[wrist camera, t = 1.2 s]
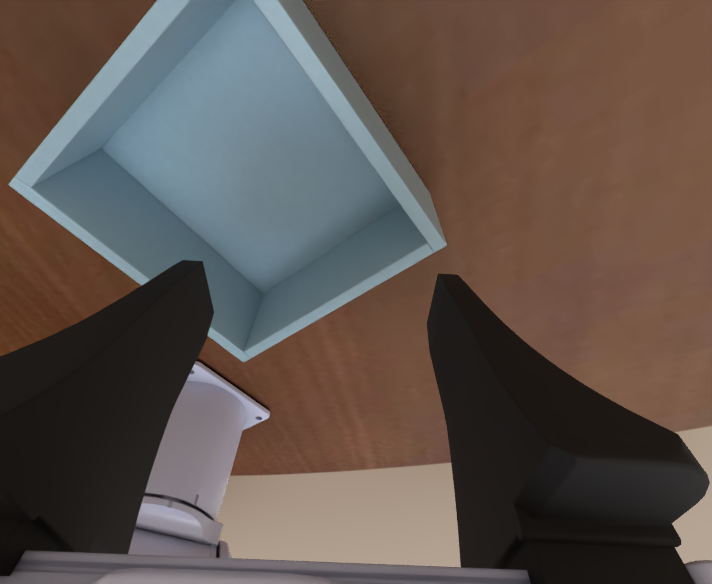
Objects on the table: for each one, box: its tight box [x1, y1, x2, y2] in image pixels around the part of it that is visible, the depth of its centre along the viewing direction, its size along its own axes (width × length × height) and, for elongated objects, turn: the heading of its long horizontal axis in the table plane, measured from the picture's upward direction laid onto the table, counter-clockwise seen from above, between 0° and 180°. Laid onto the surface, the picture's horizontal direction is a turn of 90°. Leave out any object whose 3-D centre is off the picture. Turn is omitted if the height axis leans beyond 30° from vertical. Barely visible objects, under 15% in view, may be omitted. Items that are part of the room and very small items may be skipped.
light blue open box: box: [9, 0, 447, 362], centre depth 17 cm, size 12×12×6 cm
